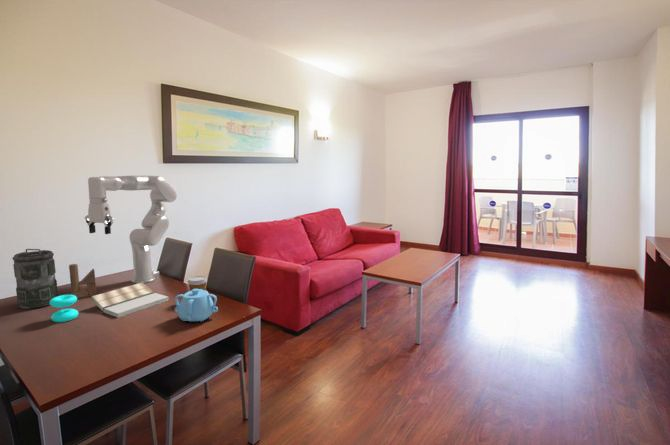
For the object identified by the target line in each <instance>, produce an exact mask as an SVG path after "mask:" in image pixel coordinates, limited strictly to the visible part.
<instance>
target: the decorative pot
mask: <svg viewBox="0 0 670 445" xmlns="http://www.w3.org/2000/svg"><path fill="white" fill-rule="evenodd" d="M178 298H181V300H180V302H179V299H178ZM217 298H218V297H217V295H215V294H213V293H209V292H208V290H207V289H206V290H203V289H193V290H192V291H190V290H189V291H187V292H185V293H184V294H183V293H181V294H177V295H176V296H175V297H174V302H175V308H174V312H175V313H177V316H178V317H179V319H180V320H181V321H183V322H184V321H189V322H199V321H200V323H201V322H202V321H203V322H205V321H206V320H207V319H208V318H210V317H211V316H212V314H213V313H217V312H218V311H219V308H218V306H216V304H217V301H218V299H217ZM213 299H214V301H213ZM204 320H205V321H204Z"/></svg>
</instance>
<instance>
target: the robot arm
mask: <svg viewBox="0 0 670 445" xmlns="http://www.w3.org/2000/svg"><path fill="white" fill-rule="evenodd" d="M87 185H88V199H89V200H88V201H89V203H88V211H87V212H88V213H87V214H88V215H86V216H84V220H85V222H86V224H87V226H88V230H89V231H88V232H89V234H95V233H96V231H97V230H96V225H95V224H96V223H97V224H104V234H105V235H109V234H112V231H111V227H112V225H113V223H114V220H115V218H114V217H113V216H111V209H110V206H109V204H108V199H107V191H110V192H111V191H113V192H115V191H118V190H119V191H150V192H149V197H150V202H151V206H150V209H149V210H148V212H147V213H146V214H145V215H144V217H143V219H142V221H141V227H142V228H135V229H133V230H132V231H131V232H130V233H129V242H130V245H131V250H132V251H131V252H132V266H133V278H131V283H132V284H139V283H142V282H143V283H144V284H147V283H150V282H153V281H155V280H156V277H155V276H156V275H160V271H159V270H157V271H153V269H152V257H151V256H152V255H151V254H152V253H151V249H150V247H154V246H156V245H158V244H159V243H160V241H161V240H162V238H164V236H165V234H166V232H167V230H168V228H169V225H170V222H169V219H168V217H166V216H165V214H166V207H165V203H173V202H175V201H176V199H177V191H176V190H175V189H174V187H172V185H171V184H170V183H169V182H168V181H167V180H166V179H165V178H164V177H163V176H160V175H121V176H120V175H118V176H108V175H105V176H104V175H103V176H91V177H88V179H87Z"/></svg>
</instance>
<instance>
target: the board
mask: <svg viewBox="0 0 670 445" xmlns="http://www.w3.org/2000/svg"><path fill="white" fill-rule="evenodd" d="M168 300H169V301H170V299H169V296H168V295H163V294H160V293H157V292H156V291H153V292H151V293H148V294H145V295H142V296H138V297H135V298H132V299H128V300H125V301H122V302H119V303H115V304H112V305H109V306H106V307H103V309H104V311H103V313H104V314H108V315H110V316H113V317H115V318H121V317H124V316H127V315H130V314H133V313H137V312H139V311H143V310H145V309H147V308H150V307H154V306H157V305H160V304H163V303H165V301H166V302H168ZM162 302H163V303H162Z"/></svg>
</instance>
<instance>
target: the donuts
mask: <svg viewBox="0 0 670 445" xmlns="http://www.w3.org/2000/svg"><path fill="white" fill-rule="evenodd" d="M77 301H78V299H77V297H76V296H75V295H71V294H62V295H58V296H57V297H55V298H53V299H51V300H50V305H49V306H51V307H53V308H56V309H57V308H63V309H60V310H57V311H56V312H54V313H53V314H52V315H51V317H50V318H51V321H53V322H54V323H65V322H69V321H73V320H74V319H76V318H77V317H79V311H78V310H77V309H76V308H66V307H70V306H72V305H74V304H75V303H77Z"/></svg>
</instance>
